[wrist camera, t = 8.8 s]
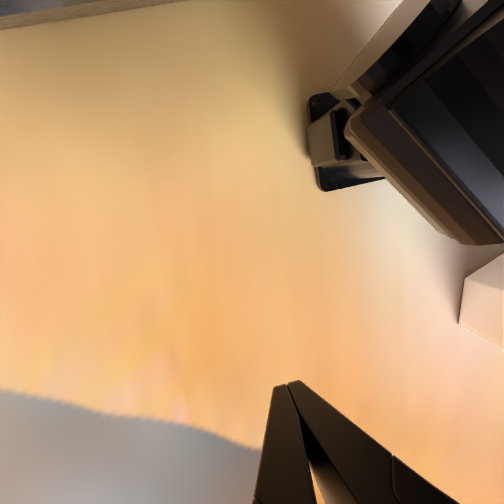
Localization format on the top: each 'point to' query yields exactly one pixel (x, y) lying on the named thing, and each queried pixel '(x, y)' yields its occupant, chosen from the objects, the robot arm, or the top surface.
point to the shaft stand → (62, 9)
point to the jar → (485, 303)
